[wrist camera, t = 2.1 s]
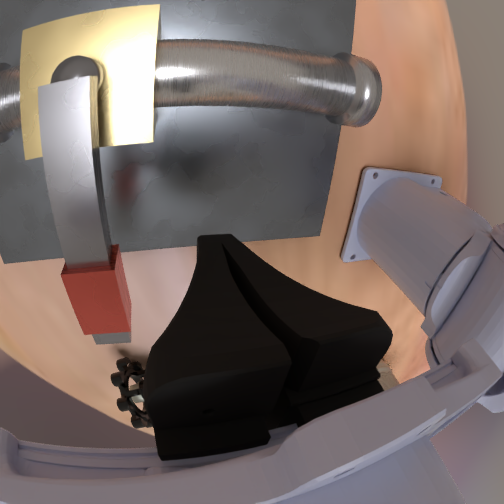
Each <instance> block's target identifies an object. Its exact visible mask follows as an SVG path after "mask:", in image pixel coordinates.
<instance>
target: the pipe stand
mask: <svg viewBox="0 0 504 504" xmlns="http://www.w3.org/2000/svg"><path fill="white" fill-rule="evenodd" d="M355 7H356V0H0V254H1V257H2V259H3V262H4V264H7V263H16V262H26V261H36V260H46V259H56V258H64V256H63V252H62V249H61V245H60V241H59V237H58V234H57V230H56V226H55V221H54V217H53V213H52V208H51V203H50V198H49V193H48V188H47V182H46V176H45V170H44V163H43V155H42V147H41V137H40V125H39V108H38V87H39V86H43V85H47V84H50V82H51V77H52V74H53V72H54V70H55V69H56V67H57V66H58V65H59V64H60V63H61V62H62V61H64V60H65V59H67V58H69V57H72V56H76V55H81V56H86V57H90V58H93V59H95V60H96V61H98V62H99V64H100V65H101V67H102V69H103V76H104V77H103V83H102V85H101V88H100V89H99V91H98V92H97V102H98V133H99V149H100V161H101V172H102V181H103V189H104V197H105V205H106V211H107V218H108V224H109V230H110V236H111V241H112V245H114V244H119V247H120V252H129V251H140V250H152V249H163V248H174V247H186V246H197V238H198V237H199V236H200V235H214V234H232V235H233V236H234V237H236V238H237V239H238V240H239V241H240V242H247V241H260V240H273V239H286V238H299V237H313V236H320V232H321V227H322V223H323V218H324V214H325V209H326V204H327V200H328V195H329V190H330V185H331V180H332V175H333V169H334V164H335V159H336V153H337V147H338V142H339V136H340V130H341V125H345V126H351V127H362V126H364V125H366V124H367V123H368V122H370V121H371V119H372V118H373V117H374V115H375V114H376V112H377V110H378V108H379V105H380V101H381V95H382V83H381V77H380V74H379V72H378V70H377V68H376V66H375V65H374V64H373V63H372V62H371V61H369V60H368V59H365V58H362V57H358V56H355V55H352V54H351V51H352V41H353V31H354V20H355Z"/></svg>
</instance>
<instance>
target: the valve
mask: <svg viewBox="0 0 504 504" xmlns="http://www.w3.org/2000/svg"><path fill="white" fill-rule="evenodd" d="M128 363H131V361H130V360H129V358H127V357H125V358H122V359H119V360H117V362H116V365H117V368H118V370H119V371H120V372H116V373H113V374H111V381H112V383H113V385H114V386H116V387H119V389H120V393H121V398H118V399H117V406H118V408H119V410H121V411H128V410H129V411H130V413H131V414H132V417H131V423H132V425H133V427H134V428H136V429H137V428H142V427H147V428H149V427H153V426H152V423H151V421H150V419H149V417H148V414H147V412H146V410H145V403H144V395H143V381H144V380H143V378H142V377H144V374H145V370H143V368H142V365H141V364H140V363H139V362H138V361H137V362H134V363H131V364H129V365H128V366H127V364H128ZM129 377H131V378H132V379H133V380H134V381H135V382H136V384H135V385H131V386H130V391H129V386H128V381H129ZM132 399H133V400H132ZM133 401H134V402H135V403H139V402H143V410H142V411H141V410H140V409H139V408H138V407H137V406H136V405H135V403H134V402H133Z"/></svg>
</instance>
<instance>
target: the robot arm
mask: <svg viewBox="0 0 504 504" xmlns="http://www.w3.org/2000/svg"><path fill="white" fill-rule="evenodd" d="M374 173H375V175H374V176H373V174H374ZM441 184H442V178H441V177H439V176H437V175H430V174H423V173H416V172H409V171H401V170H393V169H384V168H375V167H367V168H365V169H364V170H363V173H362V177H361V181H360V185H359V190H358V194H357V198H356V202H355V206H354V210H353V214H352V218H351V222H350V225H349V229H348V233H347V237H346V240H345V244H344V247H343V251H342V254H341V259H342V260H343V262H353V261H361V260H368V259H373V260H374V261H375V262H376V264H377V265H378V266H379V267H380V268H381V269H382V270H383V271H384V272H385V273H386V274H387V275H388V276H389V277H390V278H391V279H392V281H393V282H394V283H395V284H396V285H397V286H398V287H399V288H400V289H401V290H402V291H403V293H404V294H405V295H406V296H407V297H408V298H409V299H410V300H411V302H412V303H413V304H414V305H415V306H416V307H417V308H418V310H419V311H420V312H421V313H422V314H423V315H424V316H425V320H424V322H423V323H422V325H421V328H422V329H423V331H424V332H425V333H426V334H427V335H428V339H427V341H426V345H425V353H426V357H427V361H428V363H429V366H430V370H429V371H427V372H425V373H423V374H421V375H419V376H417V377H415V378H412V379H410V380H407V381H405V382H403V383H401V384H399V385H397V386H395V387H392V388H390V389H388V390H386V391H384V389H383V388H382V386H381V384H380V383H379V381H378V380H377V379H379V378H380V377H381V375H380V372H379V371H378V369H377V368H376V367H377V365H378V364H379V362H380V361H381V359H382V358H383V356H384V355H385V353H386V352H387V350H388V348H389V346H390V345H391V341H392V337H393V334H392V330H391V329H390V327H389V326H388V325H387V324H386V322H385V321H384V320H383V318H382V317H381V316H380V315H379V313H378V312H377V311H374V310H370V309H366V308H362V307H358V306H354V305H351V304H348V303H345V302H342V301H339V300H336V299H333V298H331V297H328V296H326V295H323V294H321V293H319V292H316V291H314V290H312V289H310V288H308V287H306V286H304V285H302V284H300V283H298V282H296V281H294V280H293V279H291V278H289V277H287V276H286V275H284V274H283V273H281V272H279V271H278V270H276V269H275V268H274V267H272V266H271V265H269V264H268V263H266V262H265V261H264V260H262V259H261V258H260V257H259V256H257V255H256V254H255V253H254V252H252V251H251V250H250V249H249V248H247V247H246V246H245V245H244V244H243V243H242V242H240V241H239V240H238V239H237V238H236V237H234V236H233V235H232V234H214V235H200V236H199V237H198V238H197V263H196V267H195V270H194V274H193V277H192V280H191V283H190V286H189V288H188V291H187V293H186V295H185V297H184V299H183V301H182V303H181V305H180V307H179V309H178V311H177V313H176V314H175V316H174V317H173V319H172V320H171V322H170V324H169V325H168V327H167V328H166V330H165V331H164V332H163V334H162V335H161V336H160V337H159V339H158V340H157V341H156V342H155V344H154V345H153V346H152V348H151V351H150V354H149V358H148V361H147V365H146V369H145V374H144V381H143V395H144V403H145V410H146V412H147V414H148V417H149V419H150V421H151V423H152V426H153V428H154V433H155V439H156V446H157V447H154V448H129V449H105V448H81V447H67V446H57V445H48V444H41V443H34V442H28V441H22V440H17V438H16V437H15V436H14V435H13V434H11V433H10V432H9V431H7V430H5V429H3V428H1V427H0V504H467V503H466V502H465V500H464V498H463V496H462V494H461V493H460V491H459V489H458V487H457V485H456V484H455V482H454V480H453V478H452V476H451V475H450V473H449V471H448V469H447V468H446V466H445V464H444V462H443V461H442V459H441V458H440V456H439V454H438V452H437V451H436V449H435V447H434V446H433V444H432V442H431V441H430V438H432V437H433V436H434V435H436V434H437V433H439V432H440V431H441V430H443V429H444V428H445V427H446V426H448V425H449V424H450V423H452V422H453V421H454V420H455V419H457V418H458V417H459V416H461V415H462V414H463V413H464V412H466V411H467V410H468V409H469V408H470V407H471V406H473V405H474V404H475V403H476V402H478V403H480V404H482V405H483V406H485V407H486V408H487V409H488V410H490V411H491V412H493V413H496V412H502V411H504V223H503V224H500V225H498V224H497V225H495V226H494V228H493V229H492V227H491V226H490V224H489V223H488V222H487V220H486V219H484V218H483V217H482V216H480V215H479V214H478V213H476V212H475V211H474V210H472V209H471V208H469V207H468V206H466V205H465V204H463V203H462V202H460V201H459V200H457V199H456V198H454V197H453V196H451V195H450V194H448V193H446V192H445V191H443V190H442V189H440V188H441Z"/></svg>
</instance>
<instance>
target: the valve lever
mask: <svg viewBox="0 0 504 504" xmlns="http://www.w3.org/2000/svg"><path fill="white" fill-rule="evenodd" d="M103 77H104V76H103V69H102V67H101V65H100V64H99V62H98V61H96V60H95V59H93V58H90V57H86V56H81V55H76V56H72V57H69V58H67V59H65V60H64V61H62V62H61V63H60V64H59V65H58V66H57V67H56V69H55V70H54V72H53V74H52V77H51V82H50V84H47V85H43V86H39V87H38V108H39V125H40V137H41V147H42V155H43V163H44V170H45V176H46V182H47V188H48V193H49V198H50V203H51V208H52V213H53V217H54V221H55V226H56V230H57V234H58V237H59V241H60V245H61V249H62V252H63V256H64V259H65V265H64V267H63V270H62V273H61V277H62V280H63V283H64V286H65V288H66V291H67V294H68V296H69V299H70V302H71V304H72V307H73V309H74V312H75V314H76V316H77V319H78V321H79V324H80V326H81V328H82V330H83V333H84V335H88V334H92V336H93V338H94V340H95V343H96V344H114V343H128V342H131V300H130V296H129V291H128V287H127V282H126V278H125V273H124V268H123V263H122V258H121V253H120V247H119V244H114V245H112V241H111V236H110V230H109V224H108V218H107V211H106V205H105V197H104V189H103V181H102V172H101V161H100V149H99V133H98V102H97V92H98V91H99V89H100V88H101V85H102V83H103Z"/></svg>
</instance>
